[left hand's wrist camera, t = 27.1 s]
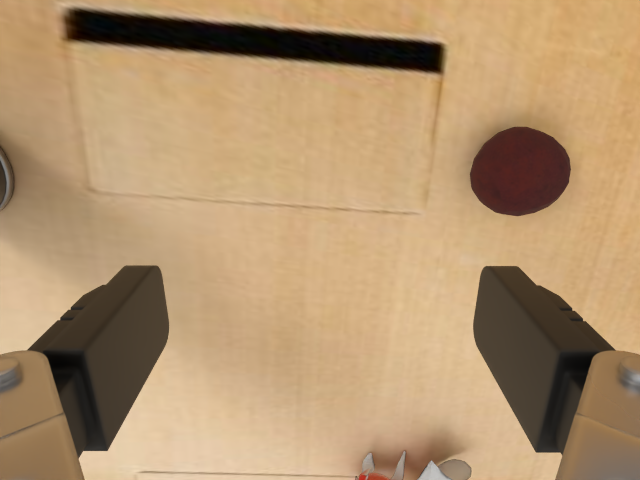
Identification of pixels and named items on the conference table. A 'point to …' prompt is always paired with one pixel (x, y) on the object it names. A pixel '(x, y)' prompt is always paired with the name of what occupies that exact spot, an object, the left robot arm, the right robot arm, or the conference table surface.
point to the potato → (520, 171)
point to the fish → (446, 476)
